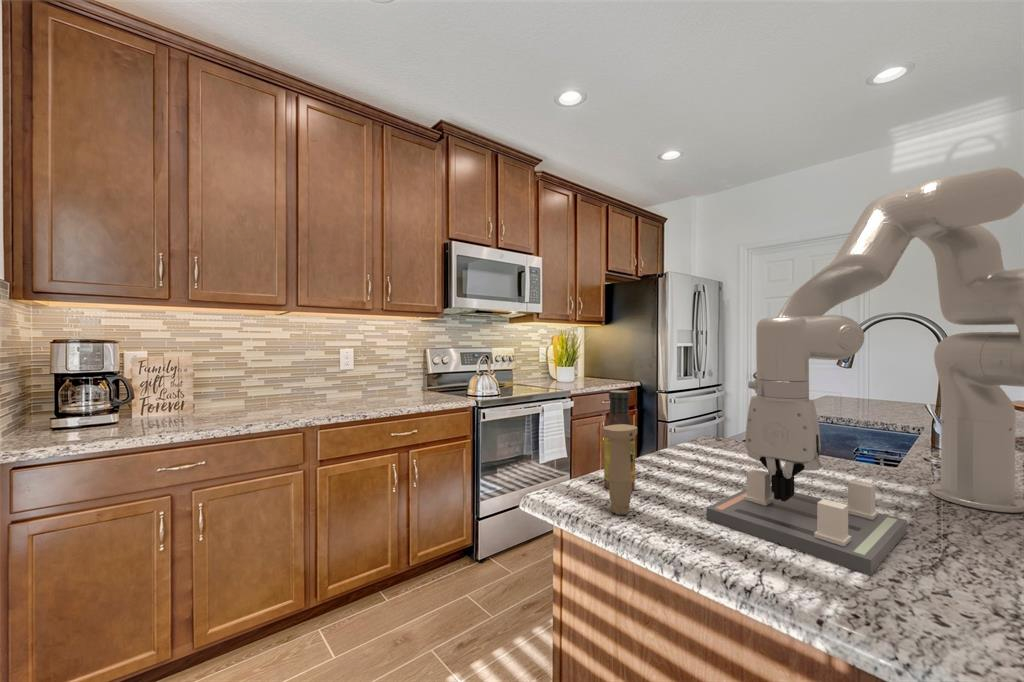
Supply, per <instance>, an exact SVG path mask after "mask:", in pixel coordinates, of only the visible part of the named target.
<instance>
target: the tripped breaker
mask: <svg viewBox="0 0 1024 682" xmlns="http://www.w3.org/2000/svg"><path fill="white" fill-rule="evenodd" d="M746 489H747V495H745V496H744V500H747V501H751V502H754V503H758V504H761V505H765V506H766V505H768V504H770V503H772V502H773V498H771V474H769V473H768V471H763V470H759V469H754V468H752V469H750V470H747V471H746Z"/></svg>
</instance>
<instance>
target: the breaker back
mask: <svg viewBox="0 0 1024 682" xmlns="http://www.w3.org/2000/svg"><path fill="white" fill-rule="evenodd" d="M847 505H848V514H852V515H856V516H859V517H863V518H867V519H871V520H873V519H874V518H876V517H877V516H878V513H879V511H877V510H876V483H870V482H867V481H862V480H856V479H851V480H849V481H848V482H847Z"/></svg>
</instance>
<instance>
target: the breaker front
mask: <svg viewBox="0 0 1024 682" xmlns="http://www.w3.org/2000/svg"><path fill="white" fill-rule="evenodd" d="M821 499H822V500H821V501H819V502H818V503H817V531H816V532H815V533H814V537H815V538H818V539H822V540H825V541H828V542H831V543H834V544H838V545H841V546H844V547H845V546H846V545H847V544H848V543H849V542H850V541H851V536H849V535H848V504H845V503H841V502H838V501H832V500H829V499H825V498H821Z"/></svg>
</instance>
